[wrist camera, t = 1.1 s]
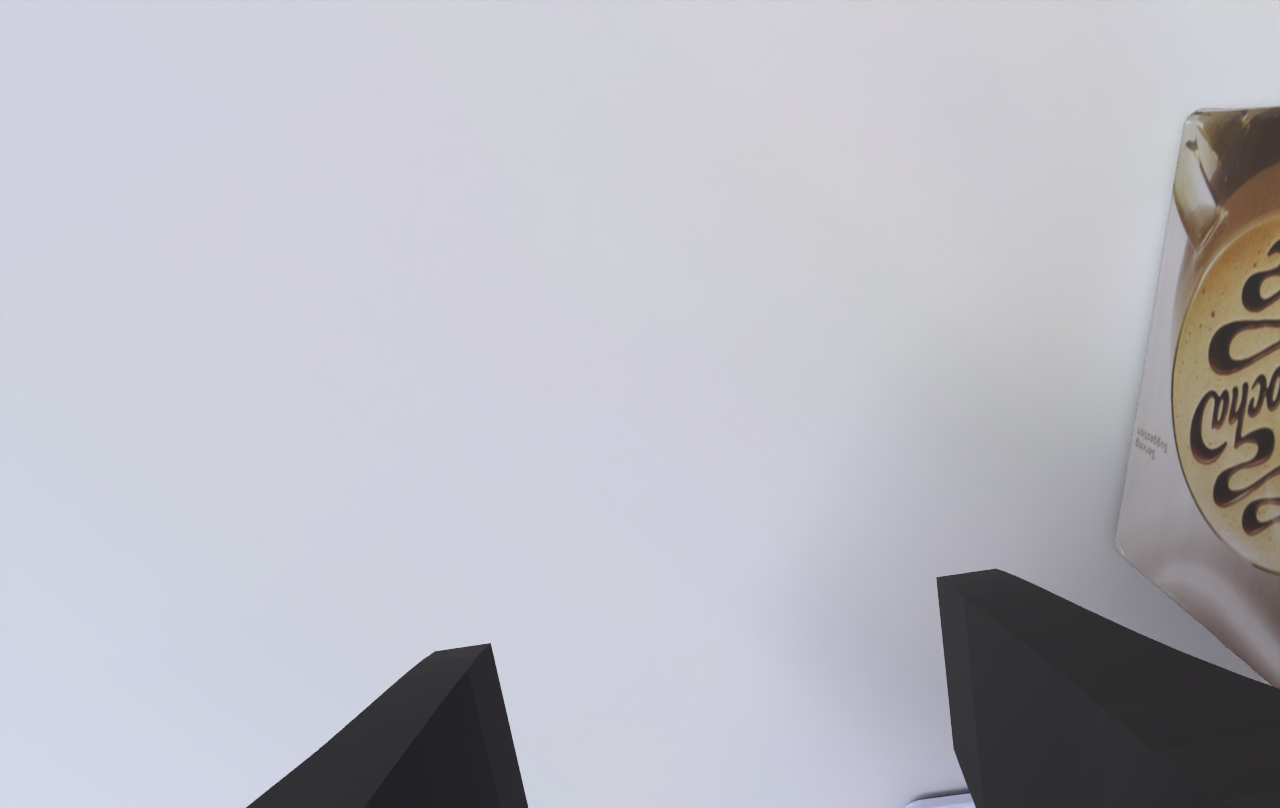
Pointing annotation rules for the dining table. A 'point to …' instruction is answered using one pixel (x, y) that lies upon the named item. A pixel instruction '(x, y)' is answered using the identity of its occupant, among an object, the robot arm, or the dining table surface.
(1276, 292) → the coffee box
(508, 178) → the dining table surface
